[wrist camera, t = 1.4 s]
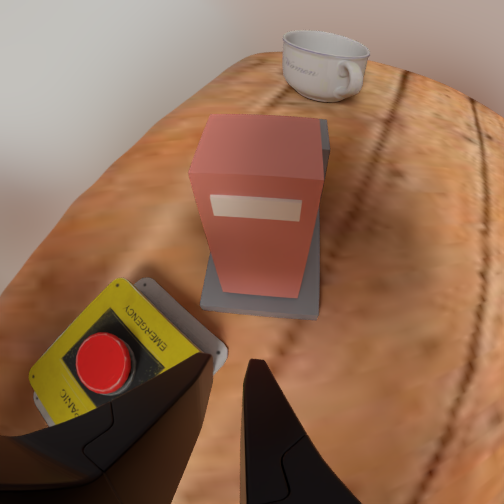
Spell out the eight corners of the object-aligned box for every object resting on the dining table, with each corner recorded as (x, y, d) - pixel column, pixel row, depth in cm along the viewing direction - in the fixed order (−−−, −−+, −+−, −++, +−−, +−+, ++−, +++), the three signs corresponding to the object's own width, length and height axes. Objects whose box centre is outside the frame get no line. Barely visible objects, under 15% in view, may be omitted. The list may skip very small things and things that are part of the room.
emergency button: (228, 338, 16) (68, 496, 11) (235, 354, 20) (101, 487, 14) (128, 246, 20) (-1, 386, 14) (149, 275, 23) (34, 396, 18)
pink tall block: (297, 300, 20) (324, 183, 10) (222, 293, 20) (187, 175, 11) (300, 247, 22) (319, 118, 13) (231, 241, 22) (210, 114, 13)
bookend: (316, 320, 20) (337, 275, 14) (202, 309, 21) (177, 261, 15) (316, 181, 27) (326, 119, 21) (230, 176, 28) (222, 114, 22)
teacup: (278, 74, 39) (278, 26, 32) (349, 77, 39) (355, 31, 32) (289, 125, 32) (292, 63, 25) (379, 129, 31) (394, 72, 25)
